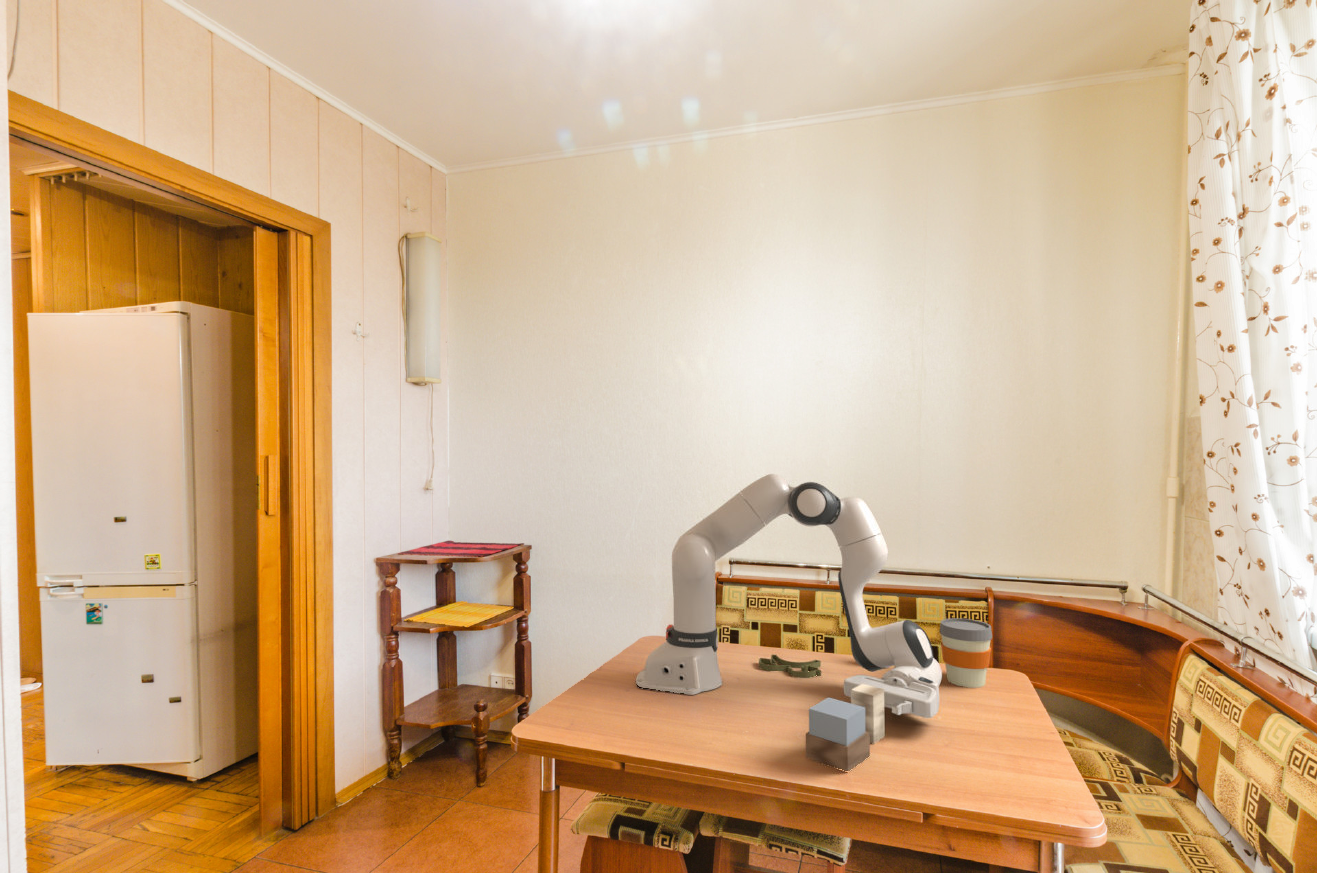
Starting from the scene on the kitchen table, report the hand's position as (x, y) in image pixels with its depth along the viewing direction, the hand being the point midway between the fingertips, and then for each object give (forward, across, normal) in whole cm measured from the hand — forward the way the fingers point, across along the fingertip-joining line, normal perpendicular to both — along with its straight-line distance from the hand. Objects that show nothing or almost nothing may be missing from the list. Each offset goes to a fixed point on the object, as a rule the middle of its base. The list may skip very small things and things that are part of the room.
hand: (873, 704), depth 145 cm
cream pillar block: (+3, 0, +6) cm, 7 cm away
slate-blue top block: (+16, 0, +1) cm, 16 cm away
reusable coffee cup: (-46, +3, +6) cm, 47 cm away
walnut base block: (+16, 0, +6) cm, 17 cm away
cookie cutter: (-24, -36, +7) cm, 43 cm away
